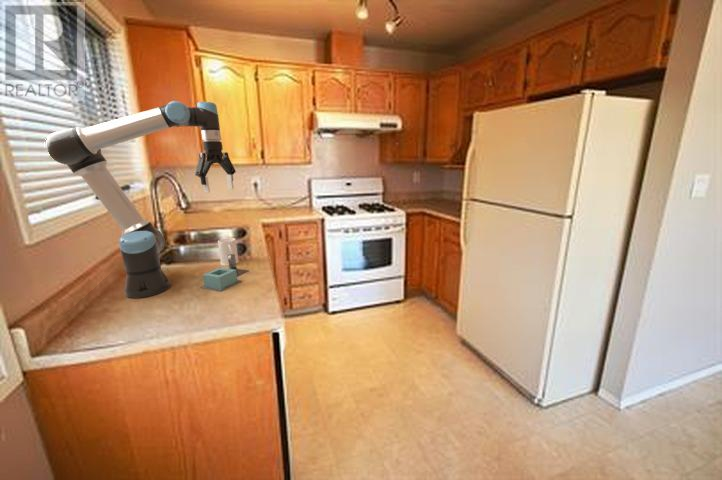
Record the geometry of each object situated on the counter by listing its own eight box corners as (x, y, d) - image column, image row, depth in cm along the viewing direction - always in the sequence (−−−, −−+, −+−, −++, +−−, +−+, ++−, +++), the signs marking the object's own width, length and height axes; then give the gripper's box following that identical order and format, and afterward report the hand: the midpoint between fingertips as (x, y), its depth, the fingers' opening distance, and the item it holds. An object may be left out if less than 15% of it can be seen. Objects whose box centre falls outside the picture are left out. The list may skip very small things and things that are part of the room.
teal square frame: (204, 286, 131) (202, 274, 129) (221, 278, 139) (220, 267, 137) (221, 289, 127) (219, 277, 126) (237, 281, 135) (236, 269, 134)
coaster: (200, 288, 130) (200, 286, 130) (221, 279, 140) (221, 277, 140) (221, 292, 126) (220, 290, 126) (241, 282, 136) (241, 280, 136)
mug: (241, 265, 156) (238, 242, 153) (222, 269, 152) (218, 244, 149) (237, 259, 166) (234, 236, 163) (219, 262, 162) (216, 239, 159)
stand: (216, 276, 143) (213, 257, 141) (233, 269, 152) (231, 250, 150) (234, 279, 139) (231, 259, 137) (250, 271, 148) (247, 252, 146)
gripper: (193, 140, 126) (202, 194, 132) (239, 141, 148) (245, 187, 154) (180, 140, 129) (189, 193, 135) (227, 141, 151) (233, 187, 157)
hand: (219, 190), depth 144 cm, fingers open, 13 cm apart
